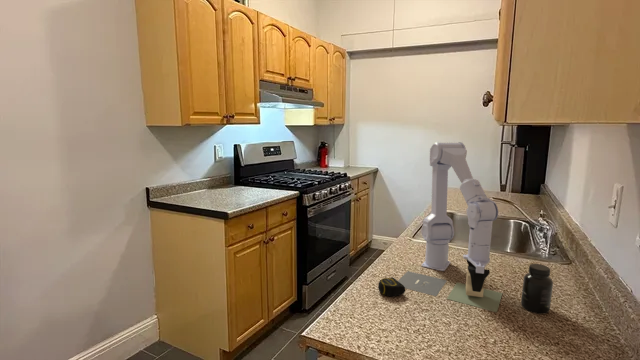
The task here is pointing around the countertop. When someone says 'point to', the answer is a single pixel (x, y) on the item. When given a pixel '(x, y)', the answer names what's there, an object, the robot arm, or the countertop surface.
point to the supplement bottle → (537, 289)
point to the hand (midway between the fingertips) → (475, 287)
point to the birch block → (469, 287)
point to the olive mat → (476, 298)
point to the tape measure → (391, 287)
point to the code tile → (422, 283)
